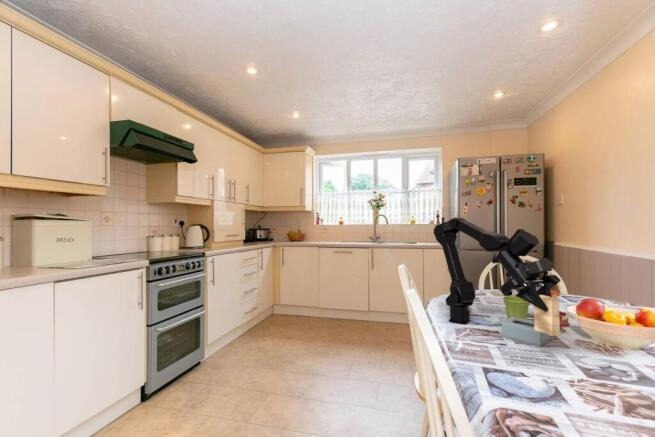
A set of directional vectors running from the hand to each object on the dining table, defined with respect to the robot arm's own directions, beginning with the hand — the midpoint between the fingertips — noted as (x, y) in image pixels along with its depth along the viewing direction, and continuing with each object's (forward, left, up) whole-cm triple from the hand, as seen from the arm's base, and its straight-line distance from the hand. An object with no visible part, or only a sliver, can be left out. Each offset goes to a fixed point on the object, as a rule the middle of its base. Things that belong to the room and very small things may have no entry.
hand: (551, 310), depth 85 cm
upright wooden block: (-1, +1, -7) cm, 7 cm away
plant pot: (-11, +33, -14) cm, 37 cm away
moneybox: (-7, +14, -13) cm, 20 cm away
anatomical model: (0, +39, -14) cm, 41 cm away
